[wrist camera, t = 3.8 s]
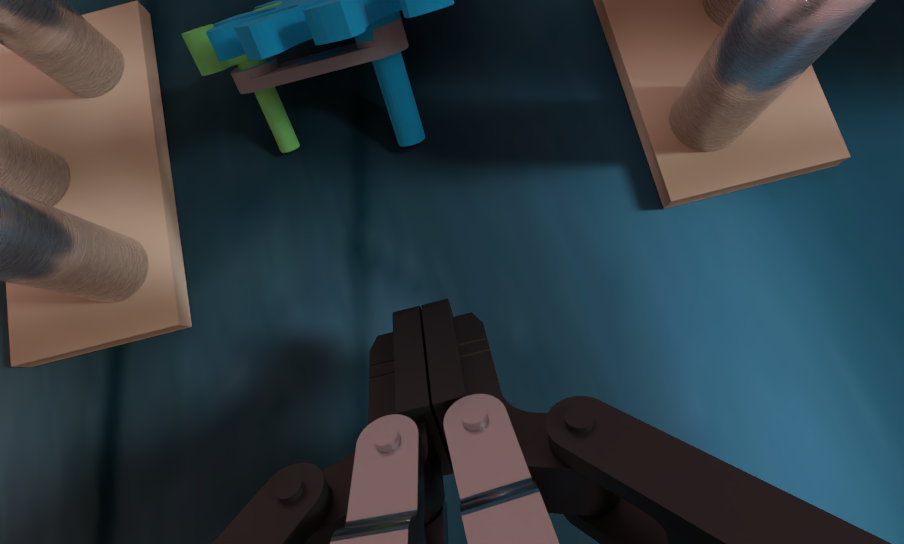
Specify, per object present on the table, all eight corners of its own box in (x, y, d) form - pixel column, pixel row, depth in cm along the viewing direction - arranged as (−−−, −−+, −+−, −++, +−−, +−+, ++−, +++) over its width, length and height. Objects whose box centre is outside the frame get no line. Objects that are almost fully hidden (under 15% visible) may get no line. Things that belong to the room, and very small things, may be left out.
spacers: (826, 123, 18) (1145, -124, 9) (16, 327, 19) (-405, 279, 10) (721, -125, 20) (897, -516, 11) (-1, 66, 21) (-358, -163, 12)
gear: (512, -93, 20) (531, -90, 11) (538, 71, 23) (568, 166, 15) (239, -10, 22) (87, 43, 13) (298, 130, 25) (204, 243, 17)
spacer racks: (835, 166, 19) (850, 156, 18) (30, 367, 19) (10, 366, 18) (709, -135, 21) (717, -155, 20) (8, 51, 22) (-10, 39, 21)
